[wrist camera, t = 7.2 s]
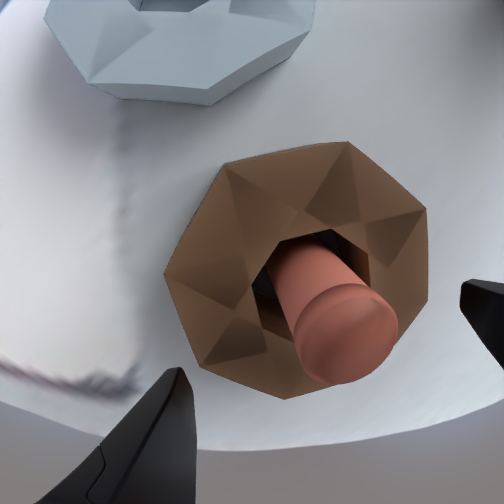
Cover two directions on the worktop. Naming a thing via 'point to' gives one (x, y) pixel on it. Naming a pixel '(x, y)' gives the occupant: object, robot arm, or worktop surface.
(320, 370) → the pink rounded cylinder
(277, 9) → the blue bead
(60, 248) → the worktop surface
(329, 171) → the walnut bead
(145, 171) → the worktop surface
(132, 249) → the worktop surface
